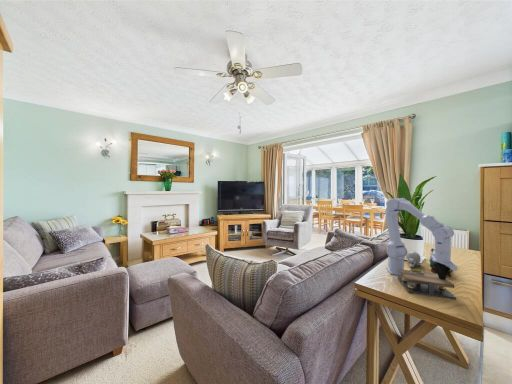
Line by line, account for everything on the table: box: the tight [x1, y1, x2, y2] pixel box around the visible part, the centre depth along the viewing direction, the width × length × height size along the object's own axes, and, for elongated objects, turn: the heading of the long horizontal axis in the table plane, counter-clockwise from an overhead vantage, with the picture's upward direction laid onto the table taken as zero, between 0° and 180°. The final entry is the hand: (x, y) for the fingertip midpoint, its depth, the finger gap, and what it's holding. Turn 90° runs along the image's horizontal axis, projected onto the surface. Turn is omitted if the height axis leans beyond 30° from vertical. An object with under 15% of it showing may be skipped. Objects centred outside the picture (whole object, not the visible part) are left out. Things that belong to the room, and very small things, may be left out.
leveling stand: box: [397, 276, 457, 300], centre depth 100 cm, size 15×18×6 cm
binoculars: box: [429, 254, 454, 277], centre depth 116 cm, size 9×11×10 cm
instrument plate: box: [399, 268, 456, 289], centre depth 100 cm, size 12×18×3 cm, turn 71°
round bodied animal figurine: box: [405, 250, 421, 269], centre depth 129 cm, size 7×12×8 cm, turn 130°
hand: (442, 278), depth 98 cm, fingers closed, pressing on instrument plate
